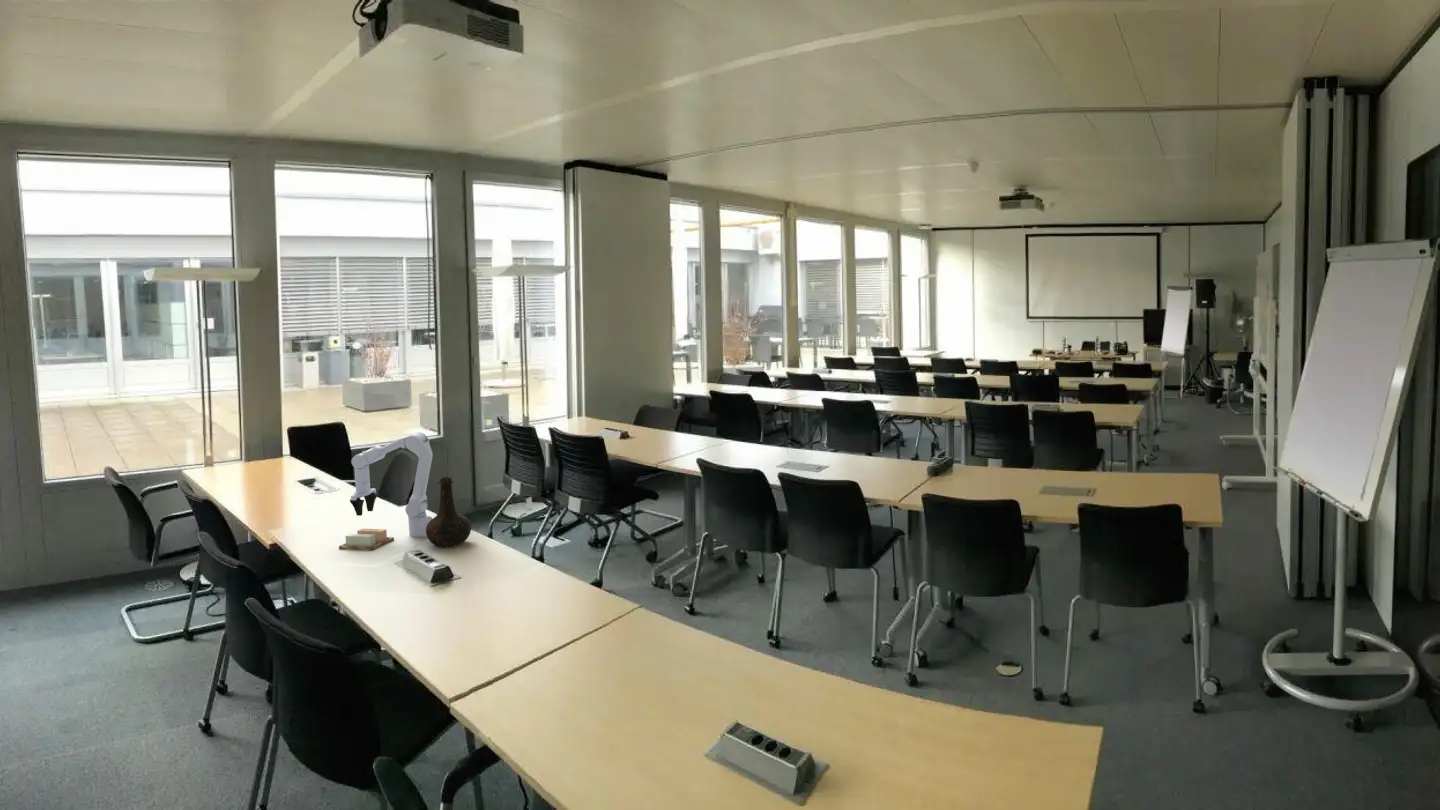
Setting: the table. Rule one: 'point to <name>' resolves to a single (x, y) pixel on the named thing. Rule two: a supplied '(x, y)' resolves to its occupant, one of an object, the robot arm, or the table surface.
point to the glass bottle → (447, 520)
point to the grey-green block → (360, 540)
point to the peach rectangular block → (375, 533)
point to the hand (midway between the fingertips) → (364, 513)
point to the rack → (378, 544)
